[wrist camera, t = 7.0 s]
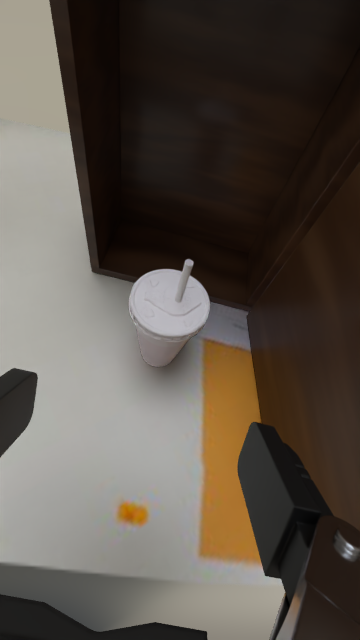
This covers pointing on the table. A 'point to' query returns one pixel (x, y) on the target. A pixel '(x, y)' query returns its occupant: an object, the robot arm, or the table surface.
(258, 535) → the robot arm
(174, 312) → the smoothie
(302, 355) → the cupboard door
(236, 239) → the cupboard
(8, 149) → the table surface
